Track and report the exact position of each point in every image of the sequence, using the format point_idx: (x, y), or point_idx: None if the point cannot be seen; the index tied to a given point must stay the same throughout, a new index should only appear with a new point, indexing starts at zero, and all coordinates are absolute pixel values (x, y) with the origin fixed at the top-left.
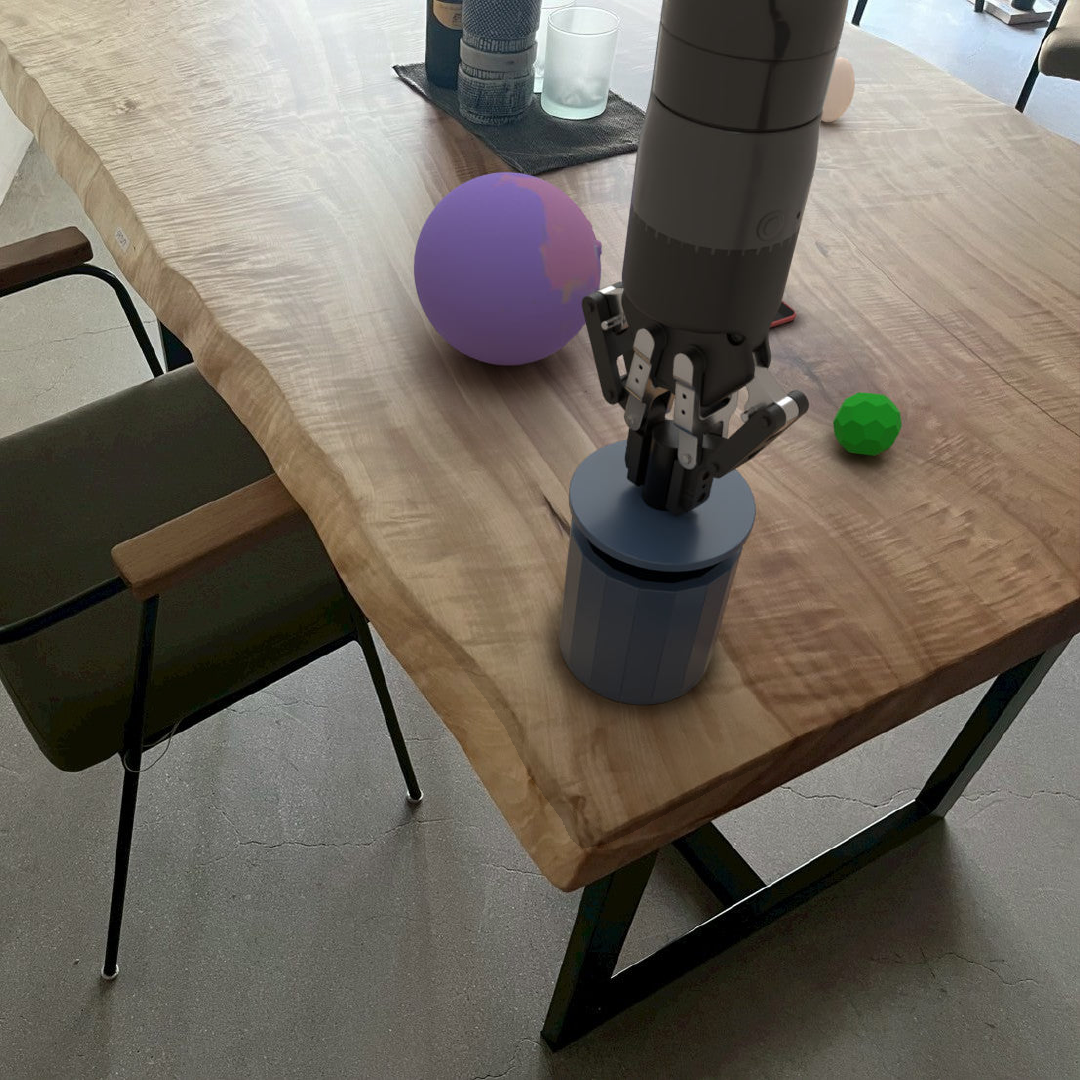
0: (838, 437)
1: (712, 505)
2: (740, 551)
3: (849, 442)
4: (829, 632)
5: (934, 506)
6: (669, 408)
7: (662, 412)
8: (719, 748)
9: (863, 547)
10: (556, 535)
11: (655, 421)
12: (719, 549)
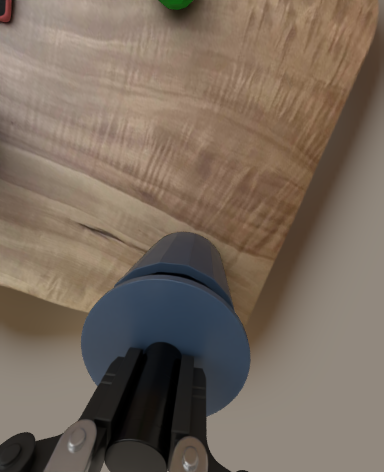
0: (164, 3)
1: (202, 339)
2: (231, 303)
3: (176, 4)
4: (256, 188)
5: (258, 9)
6: (92, 452)
7: (93, 464)
8: (251, 288)
9: (238, 103)
10: (106, 241)
11: (100, 459)
12: (241, 378)
